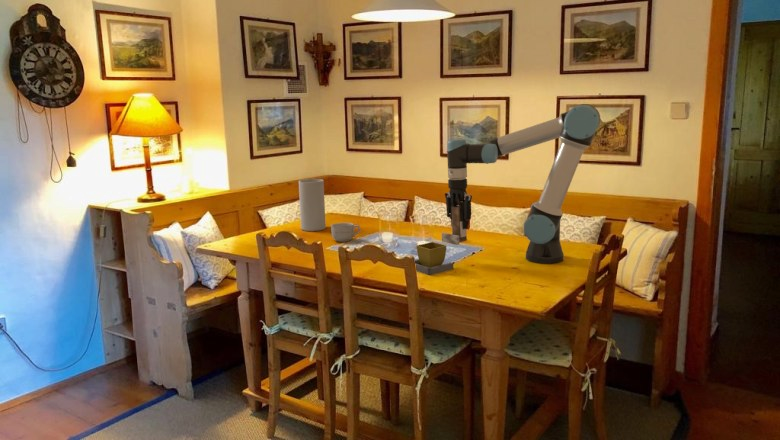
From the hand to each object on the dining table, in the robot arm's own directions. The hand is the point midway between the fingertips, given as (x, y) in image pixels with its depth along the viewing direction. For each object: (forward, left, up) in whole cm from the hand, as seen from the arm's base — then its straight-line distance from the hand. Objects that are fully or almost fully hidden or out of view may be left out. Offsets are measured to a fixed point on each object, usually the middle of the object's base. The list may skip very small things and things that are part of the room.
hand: (459, 235), depth 260 cm
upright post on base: (0, +2, -2) cm, 3 cm away
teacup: (+63, +14, -11) cm, 65 cm away
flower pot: (+2, +14, -11) cm, 18 cm away
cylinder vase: (+96, +12, -11) cm, 97 cm away
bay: (+1, +15, -11) cm, 19 cm away
